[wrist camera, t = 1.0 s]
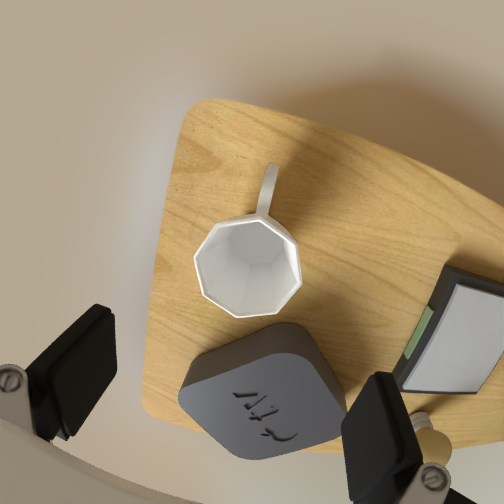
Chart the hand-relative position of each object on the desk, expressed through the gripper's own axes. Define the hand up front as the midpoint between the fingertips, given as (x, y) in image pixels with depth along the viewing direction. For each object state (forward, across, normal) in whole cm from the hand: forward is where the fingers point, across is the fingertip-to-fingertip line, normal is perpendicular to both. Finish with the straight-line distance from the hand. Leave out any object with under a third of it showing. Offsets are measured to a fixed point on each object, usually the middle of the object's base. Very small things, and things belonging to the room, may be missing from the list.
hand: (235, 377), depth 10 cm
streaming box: (+18, -4, +16) cm, 25 cm away
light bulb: (+18, -26, +20) cm, 37 cm away
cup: (+18, +1, -2) cm, 18 cm away
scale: (+18, -25, +6) cm, 31 cm away
